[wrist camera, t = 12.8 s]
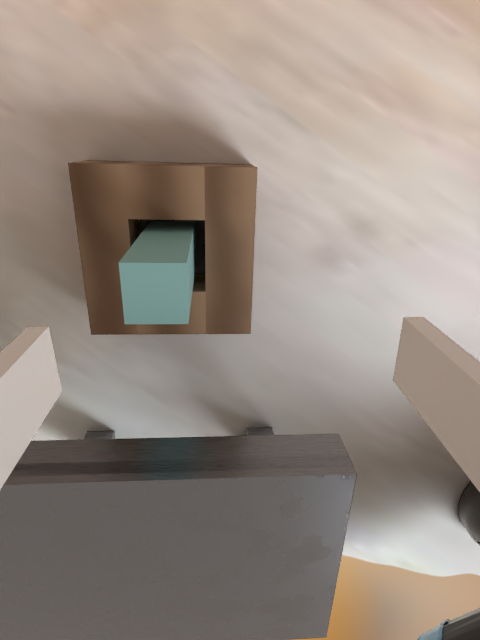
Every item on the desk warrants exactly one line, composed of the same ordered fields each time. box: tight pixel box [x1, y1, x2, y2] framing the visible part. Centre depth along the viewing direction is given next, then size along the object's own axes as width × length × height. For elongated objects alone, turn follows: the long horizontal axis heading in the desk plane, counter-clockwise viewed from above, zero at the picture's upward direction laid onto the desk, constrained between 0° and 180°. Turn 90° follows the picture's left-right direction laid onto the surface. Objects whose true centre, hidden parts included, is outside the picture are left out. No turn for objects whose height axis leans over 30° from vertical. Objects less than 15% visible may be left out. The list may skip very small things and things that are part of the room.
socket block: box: [68, 160, 257, 335], centre depth 35 cm, size 14×14×5 cm
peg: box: [119, 221, 196, 324], centre depth 31 cm, size 4×4×14 cm
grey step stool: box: [0, 427, 357, 640], centre depth 35 cm, size 24×16×20 cm, turn 88°
